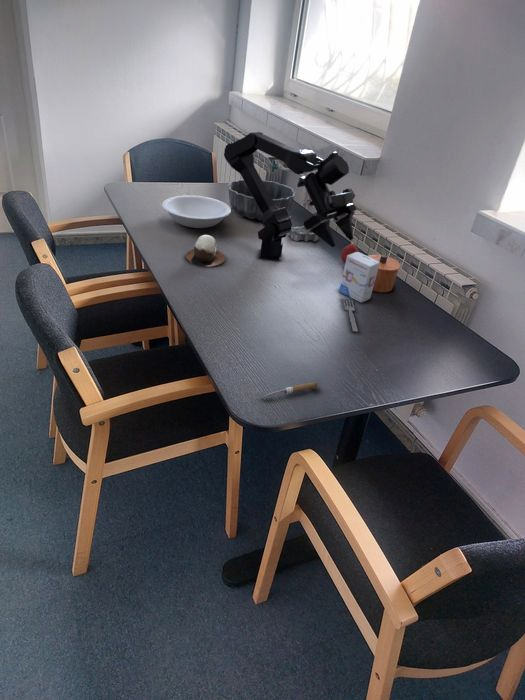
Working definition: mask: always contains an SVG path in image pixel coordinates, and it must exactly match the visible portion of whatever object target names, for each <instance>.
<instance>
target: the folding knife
mask: <svg viewBox="0 0 525 700" xmlns="http://www.w3.org/2000/svg"><path fill="white" fill-rule="evenodd" d="M318 385H319V382H318V381H314V382H308V383H299V384H296V385H292V386H287V387H285V388H283V389H281V390H276V391H274V392H270V393H268V394H264V395H261V396H260V398H261V399H270V398H274V397H277V396H281V395H284V394H286V395H287V394H288V395H289V394H293V393H299V392H304V391H308V390H317V389H318Z"/></svg>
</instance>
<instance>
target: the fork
mask: <svg viewBox="0 0 525 700" xmlns="http://www.w3.org/2000/svg"><path fill="white" fill-rule="evenodd" d="M353 301H354V300H352V299H351V300H350V299H348V300H347V299H342V304H343V309H344V311H346V312H348V318H349V322H350V328H351V331H352V333H356V334H357V333H358V331H359V330H358V326H357V322H356V319H355V314H354V313H355V312H356V309H355V305H354V302H353Z"/></svg>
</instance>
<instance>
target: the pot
mask: <svg viewBox="0 0 525 700" xmlns="http://www.w3.org/2000/svg"><path fill="white" fill-rule="evenodd" d="M398 272H399V270H396V271H383V270H379V269H378V272H377V275H376V279H375V283H374V286H373V290H372V292H377V293H388V292H391V291H392V290H393V288H394V286H395V282H396V279H397V276H398Z"/></svg>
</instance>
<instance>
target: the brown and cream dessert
mask: <svg viewBox="0 0 525 700" xmlns="http://www.w3.org/2000/svg"><path fill="white" fill-rule="evenodd" d="M217 246H218V245H217V241H216V239H215V238H214V236H212V235H209V234H203V235H200V236H199V237H198V238H197V239H196V241H195V244H194V246H193V249H190V250H189V251H187V252H186V254H185V258H186V260H187V261H188V262H189V263H191V264H193V265H195V266H199V267H215V266H219V265H221V264H223V263H224V262H225V261H226V257H225V254H224V253H223V252H221V251H220V250H217Z"/></svg>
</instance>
